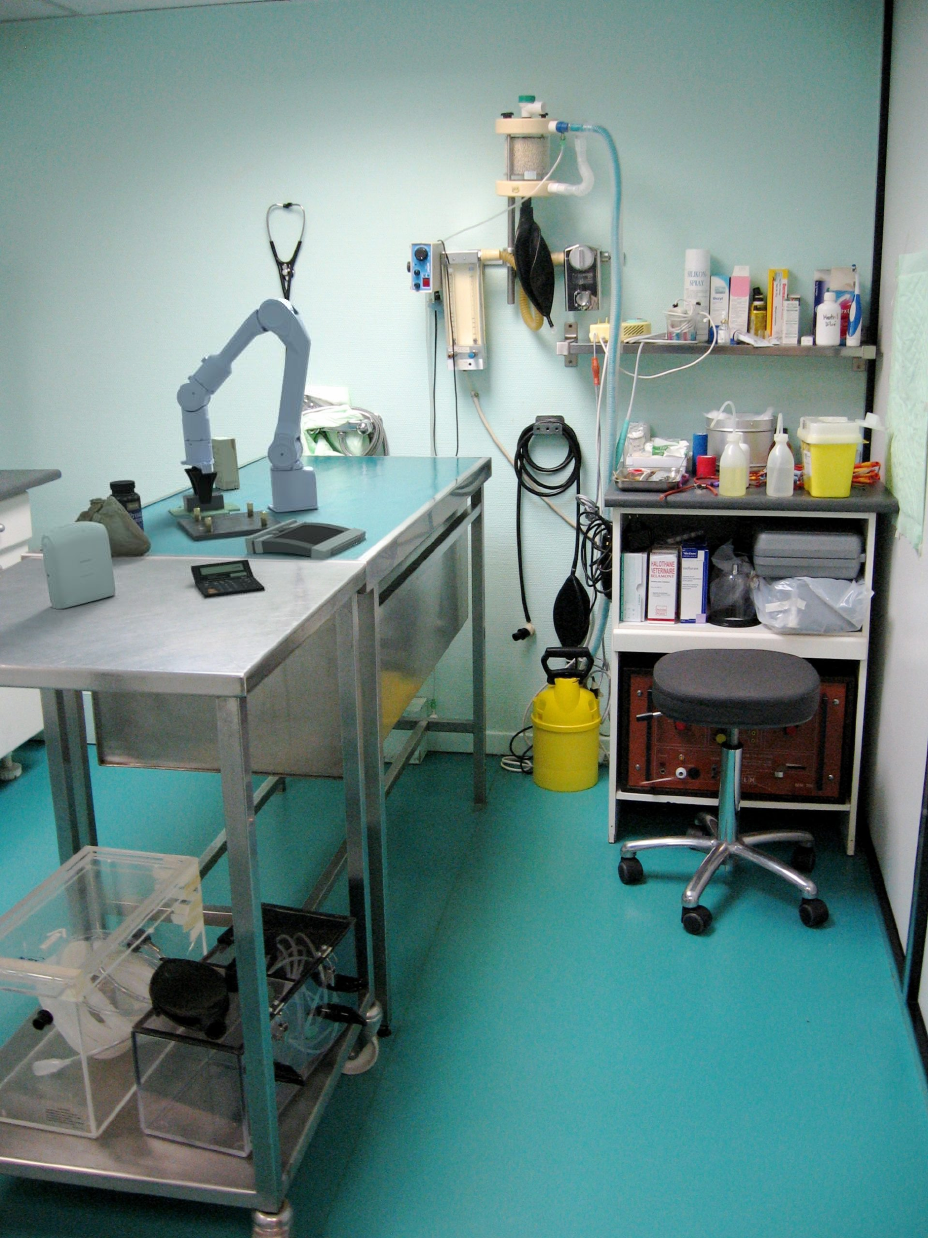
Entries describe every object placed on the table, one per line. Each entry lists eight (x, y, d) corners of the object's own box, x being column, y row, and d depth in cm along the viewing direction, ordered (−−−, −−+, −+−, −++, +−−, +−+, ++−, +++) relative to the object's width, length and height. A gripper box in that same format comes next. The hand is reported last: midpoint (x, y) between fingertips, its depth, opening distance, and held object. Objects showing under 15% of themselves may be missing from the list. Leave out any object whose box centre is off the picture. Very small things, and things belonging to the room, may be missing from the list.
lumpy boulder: (128, 572, 188) (55, 541, 190) (154, 578, 199) (84, 549, 201) (152, 513, 188) (79, 482, 190) (177, 522, 199) (108, 493, 201)
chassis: (263, 514, 226) (261, 498, 225) (286, 530, 211) (285, 513, 210) (177, 524, 219) (176, 507, 218) (195, 540, 204) (193, 522, 203)
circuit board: (229, 504, 242) (227, 487, 241) (243, 515, 230) (242, 497, 228) (166, 510, 236) (164, 493, 235) (178, 522, 224) (176, 503, 223)
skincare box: (240, 488, 258) (236, 438, 255) (223, 490, 256) (219, 439, 252) (230, 485, 263) (226, 435, 260) (213, 487, 261) (209, 437, 258)
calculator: (205, 600, 165) (203, 581, 164) (192, 583, 175) (190, 565, 174) (264, 592, 168) (263, 574, 167) (248, 576, 178) (247, 558, 178)
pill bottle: (135, 541, 204) (128, 484, 201) (106, 540, 206) (99, 484, 202) (150, 534, 210) (144, 479, 207) (122, 533, 211) (115, 478, 208)
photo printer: (60, 611, 159) (49, 530, 156) (45, 606, 162) (34, 527, 158) (120, 596, 167) (111, 518, 163) (105, 591, 170) (96, 515, 166)
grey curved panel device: (291, 519, 207) (366, 516, 201) (294, 542, 209) (369, 540, 203) (244, 538, 192) (324, 536, 186) (248, 563, 193) (327, 561, 187)
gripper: (172, 437, 233) (178, 498, 237) (185, 444, 220) (191, 509, 224) (204, 434, 236) (210, 495, 240) (219, 441, 223) (224, 505, 227)
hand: (203, 501), depth 232 cm, fingers open, 4 cm apart
